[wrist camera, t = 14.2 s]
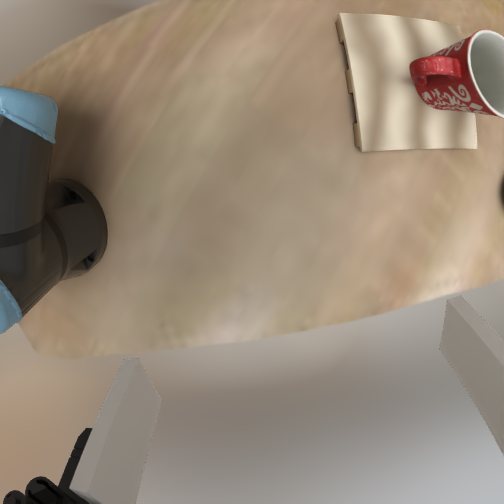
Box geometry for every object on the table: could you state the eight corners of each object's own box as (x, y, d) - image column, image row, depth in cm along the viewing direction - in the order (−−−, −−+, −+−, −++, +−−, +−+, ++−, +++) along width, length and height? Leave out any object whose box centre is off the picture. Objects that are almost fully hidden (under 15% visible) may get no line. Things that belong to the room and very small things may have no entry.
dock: (355, 150, 38) (362, 151, 35) (334, 20, 31) (339, 12, 28) (465, 146, 36) (477, 148, 33) (449, 30, 30) (459, 26, 27)
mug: (459, 56, 29) (523, 42, 16) (465, 119, 32) (532, 125, 20) (377, 42, 29) (427, 10, 17) (384, 111, 33) (441, 107, 20)
